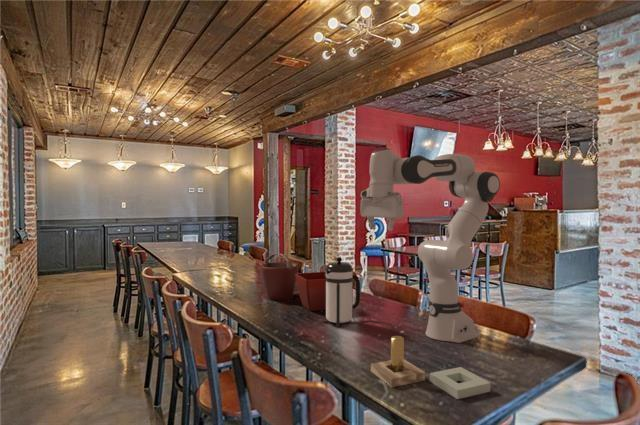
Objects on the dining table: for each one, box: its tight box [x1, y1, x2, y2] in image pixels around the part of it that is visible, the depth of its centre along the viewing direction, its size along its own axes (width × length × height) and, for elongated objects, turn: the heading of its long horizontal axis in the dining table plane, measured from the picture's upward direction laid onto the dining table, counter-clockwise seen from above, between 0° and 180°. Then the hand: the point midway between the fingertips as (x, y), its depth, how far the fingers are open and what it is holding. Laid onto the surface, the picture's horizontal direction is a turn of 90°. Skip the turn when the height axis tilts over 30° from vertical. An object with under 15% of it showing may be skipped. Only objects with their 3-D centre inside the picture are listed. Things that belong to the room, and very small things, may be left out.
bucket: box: [259, 253, 299, 301], centre depth 230 cm, size 24×22×25 cm
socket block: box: [429, 366, 491, 400], centre depth 116 cm, size 12×12×2 cm
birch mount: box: [370, 359, 426, 388], centre depth 123 cm, size 12×12×2 cm
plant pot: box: [295, 271, 326, 312], centre depth 206 cm, size 19×19×17 cm
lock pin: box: [390, 335, 405, 373], centre depth 123 cm, size 4×4×12 cm
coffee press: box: [322, 256, 361, 328], centre depth 180 cm, size 17×16×30 cm
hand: (380, 230), depth 145 cm, fingers open, 8 cm apart
